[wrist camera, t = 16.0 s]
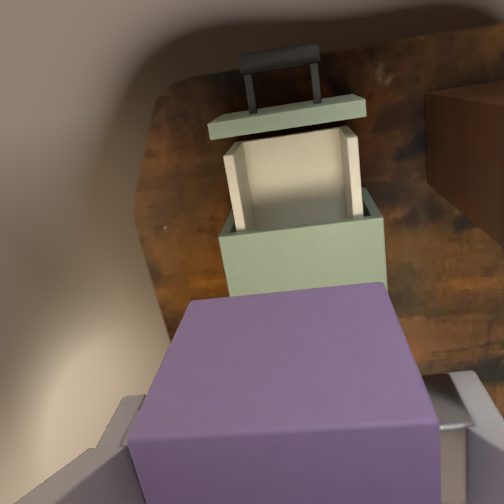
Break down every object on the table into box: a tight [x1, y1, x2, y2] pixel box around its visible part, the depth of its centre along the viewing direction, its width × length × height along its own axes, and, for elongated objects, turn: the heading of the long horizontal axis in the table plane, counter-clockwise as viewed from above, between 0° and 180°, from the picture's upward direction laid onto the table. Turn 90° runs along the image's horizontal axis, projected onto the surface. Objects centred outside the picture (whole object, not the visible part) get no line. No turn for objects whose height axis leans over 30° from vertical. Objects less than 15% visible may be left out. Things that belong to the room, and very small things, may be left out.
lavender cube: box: [127, 282, 441, 504], centre depth 9 cm, size 4×4×4 cm
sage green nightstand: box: [218, 187, 388, 297], centre depth 42 cm, size 15×13×10 cm
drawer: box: [207, 42, 367, 232], centre depth 38 cm, size 18×11×8 cm, turn 9°
